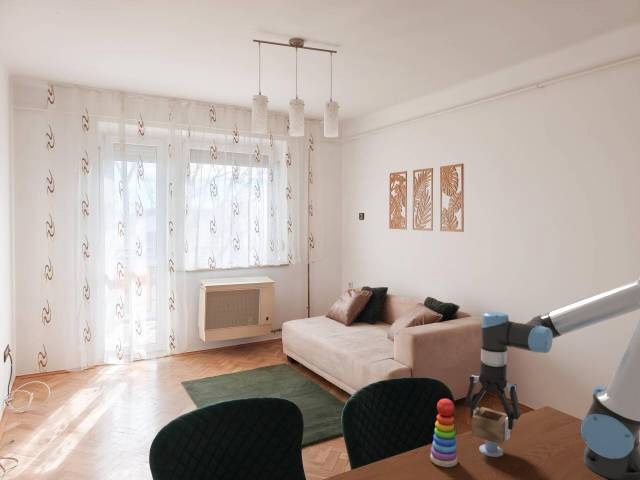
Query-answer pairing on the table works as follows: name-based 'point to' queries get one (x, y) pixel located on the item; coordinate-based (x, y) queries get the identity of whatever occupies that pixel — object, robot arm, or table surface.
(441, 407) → the stacking toy
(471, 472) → the table surface
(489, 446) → the pale blue pawn
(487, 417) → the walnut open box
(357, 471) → the table surface
